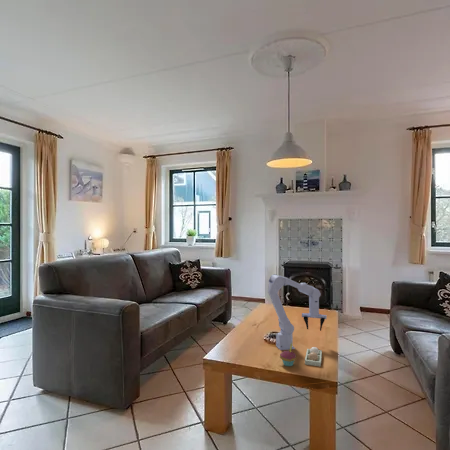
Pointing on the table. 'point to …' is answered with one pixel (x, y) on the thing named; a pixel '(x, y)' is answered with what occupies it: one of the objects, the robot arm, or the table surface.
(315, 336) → the table surface
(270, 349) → the table surface
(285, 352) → the cupcake
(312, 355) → the brown egg
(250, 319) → the table surface
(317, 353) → the white egg
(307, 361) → the carton
